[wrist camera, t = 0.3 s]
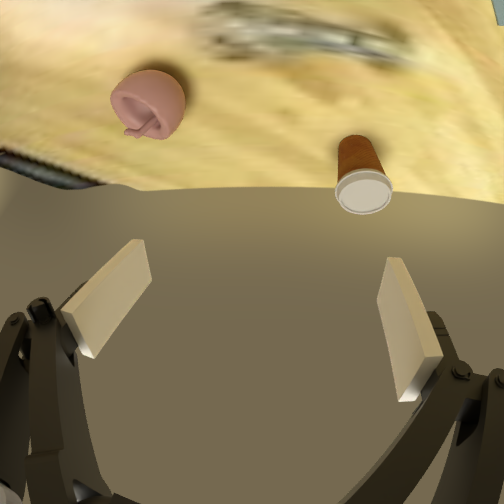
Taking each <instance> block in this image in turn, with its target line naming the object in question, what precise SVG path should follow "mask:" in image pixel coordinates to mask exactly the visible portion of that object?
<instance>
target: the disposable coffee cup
mask: <svg viewBox="0 0 504 504" xmlns="http://www.w3.org/2000/svg"><path fill="white" fill-rule="evenodd" d="M392 192H393V186H392V183H391V181H390V180H389V178H388V177H387V176H386V175H385V172H384V170H383V168H382V165H381V163H380V161H379V159H378V157H377V155H376V153H375V151H374V149H373V147H372V144H371V142H370V141H369V140H368V139H367V138H366V137H363V136H360V135H352V136H348V137H346V138H344V139H343V140H342V141H341V143H340V144H339V156H338V183H337V186H336V188H335V196H336V198H337V200H338V202H339V203H340V205H341V206H342V207H343V208H344V209H345V210H347V211H348V212H351V213H355V214H371V213H374V212H377V211H379V210H381V209H383V208H384V207H385V206H386V205H387V204H388V203H389V202H390V200H391V194H392Z"/></svg>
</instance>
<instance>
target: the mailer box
mask: <svg viewBox="0 0 504 504" xmlns="http://www.w3.org/2000/svg"><path fill="white" fill-rule="evenodd" d="M491 1H492V4H493V8H494V12H495V16H496V20H497V24H498V25H499V26H503V25H504V0H491Z"/></svg>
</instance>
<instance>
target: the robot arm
mask: <svg viewBox="0 0 504 504" xmlns="http://www.w3.org/2000/svg"><path fill="white" fill-rule="evenodd" d="M151 281H152V278H151V274H150V269H149V265H148V260H147V255H146V250H145V245H144V240H138V239H132V240H131V241H130V242H129V243H128V244H127V245H126V246H124V247H123V248H122V249H121V250H120V251H119V252H118V253H117V254H116V255H115V256H114V257H113V258H112V259H110V260H109V261H108V262H107V263H106V264H105V265H104V266H103V267H102V268H101V269H100V270H99V271H98V272H97V273H96V274H95V275H94V276H93V277H92V278H91V279H90V280H88V281H86V282H84V283H83V284H81V285H80V286H79V287H78V288H77V289H76V290H75V292H73V293H72V294H71V295H70V297H68V298H67V299H66V300H65V301H64V302H63V303H62V304H61V306H60V307H59V308H58V309H57V310H56V311H54V309H53V307H52V305H51V303H50V300H49V299H48V298H46V297H40V298H37V299H35V300H33V301H32V302H31V303H30V304H29V305H28V306H27V312H28V314H29V315H30V317H31V319H32V320H27V318H26V316H25V315H24V313H22V312H17V313H13V314H12V315H11V316H10V317H9V318H8V319H7V320H6V322H5V324H4V326H3V328H2V330H1V332H0V504H22V501H23V497H24V492H25V485H26V481H27V486H28V491H29V497H30V501H31V504H139V503H137V502H134V501H132V500H130V499H127V498H125V497H123V496H120V495H118V494H116V493H114V494H113V496H112V494H111V491H110V489H109V488H108V486H107V484H106V483H105V482H104V480H103V479H102V477H101V475H100V472H99V468H98V465H97V461H96V458H95V454H94V450H93V446H92V442H91V438H90V434H89V429H88V424H87V420H86V415H85V409H84V404H83V398H82V391H81V384H80V377H79V369H78V359H77V354H76V352H75V349H76V348H77V347H79V348H80V350H81V352H82V354H83V355H86V356H88V357H91V358H94V359H95V357H96V356H97V354H98V353H99V352H100V350H101V348H102V347H103V346H104V344H105V343H106V342H107V340H108V339H109V337H110V336H111V334H112V333H113V332H114V330H115V329H116V327H117V326H118V324H120V322H121V321H122V319H123V318H124V317H125V315H126V314H127V313H128V311H129V310H130V309H131V307H132V306H133V305H134V303H135V302H136V301H137V299H138V298H139V297H140V295H141V294H142V293H143V292H144V290H145V289H146V288H147V286H148V285H149V284H150V283H151ZM377 304H378V308H379V312H380V316H381V320H382V324H383V328H384V332H385V336H386V341H387V345H388V350H389V355H390V359H391V364H392V369H393V375H394V380H395V386H396V392H397V397H398V401H399V402H402V401H414V400H416V398H417V397H418V395H419V394H420V392H421V396H422V401H421V403H420V404H419V406H418V407H417V408H416V410H415V411H414V412H413V415H412V416H411V418H410V419H409V421H408V422H407V424H406V425H405V426H404V428H403V429H402V431H401V432H400V433H399V435H398V436H397V437H396V439H395V440H394V441H393V443H392V444H391V445H390V446H389V448H388V449H387V450H386V451H385V453H384V454H383V455H382V456H381V458H380V459H379V460H378V461H377V462H376V463H375V465H374V466H373V467H372V468H371V469H370V471H369V472H368V473H367V474H366V475H365V476H364V477H363V478H362V479H361V480H360V481H359V483H358V484H357V485H356V486H355V487H354V488H353V489H352V490H351V491H350V492H349V493H348V494H347V495H346V496H345V497H344V498H343V499H342V500H341V501H340V502H339V503H338V504H403V502H404V501H405V500H406V498H407V497H408V496H409V495H410V493H411V492H412V491H413V489H414V488H415V486H416V485H417V484H418V482H419V480H420V479H421V478H422V476H423V475H424V473H425V472H426V470H427V469H428V467H429V466H430V464H431V463H432V461H433V459H434V458H435V456H436V454H437V453H438V451H439V449H440V448H441V446H442V444H443V442H444V441H445V439H446V437H447V435H448V433H449V431H450V429H451V427H452V425H453V424H454V421H457V422H456V427H455V431H454V435H453V440H452V443H451V447H450V450H449V454H448V457H447V461H446V464H445V467H444V470H443V473H442V476H441V479H440V482H439V485H438V487H437V490H436V492H435V495H434V497H433V500H432V503H431V504H498V501H499V498H500V493H501V490H502V485H503V481H504V370H503V369H499V368H496V369H493V370H492V371H491V373H490V374H489V375H488V376H484V375H479V374H475V373H473V371H472V369H471V367H470V366H469V365H468V364H467V363H465V362H464V361H461V360H459V358H458V356H457V353H456V351H455V348H454V346H453V343H452V341H451V339H450V336H449V334H448V332H447V330H446V327H445V325H444V322H443V320H442V319H441V317H439V315H438V314H437V313H436V312H433V311H428V312H427V311H426V310H425V308H424V306H423V303H422V301H421V299H420V296H419V294H418V292H417V290H416V288H415V285H414V283H413V281H412V279H411V277H410V275H409V273H408V271H407V269H406V267H405V265H404V263H403V261H402V259H401V258H394V257H388V258H387V262H386V266H385V270H384V274H383V278H382V282H381V286H380V290H379V293H378V297H377ZM19 350H20V351H21V353H22V355H23V357H22V359H21V358H20V357H19V356H18V354H19ZM30 438H31V447H32V453H31V455H28V448H29V440H30Z"/></svg>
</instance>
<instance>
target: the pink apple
mask: <svg viewBox="0 0 504 504" xmlns="http://www.w3.org/2000/svg"><path fill="white" fill-rule="evenodd" d="M110 100H111V105H112V107H113V110H114V111H115V113H116V115H117V116H118V118H119V119H120V120H121V121H122V123H123V124H124V125H125V126H126V127H128V128H129V129H126V130H125V131H124V134H125V135H130V136H134V137H135V138H140V137H141V136H142V135H144V136H146V137H150V138H153V139H159V140H164V139H167V138H168V137H170V136H171V134H172V133H173V132H174V131H175V130H176V129H177V128H178V126H179V125H180V123H181V121H182V119H183V116H184V113H185V106H186V102H185V95H184V92H183V90H182V88H181V86H180V84H179V83H178V82H177V81H176V80H175V79H174V78H173V77H172V76H170V75H169V74H167V73H165V72H162V71H158V70H142V71H138V72H135V73H133V74H131V75H129V76H127V77H126V78H124V79H123V80H122V81H121V82H120V83H119V84H118V85H117V86H116V87H115V89H114V90H113V92H112V94H111V97H110Z"/></svg>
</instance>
